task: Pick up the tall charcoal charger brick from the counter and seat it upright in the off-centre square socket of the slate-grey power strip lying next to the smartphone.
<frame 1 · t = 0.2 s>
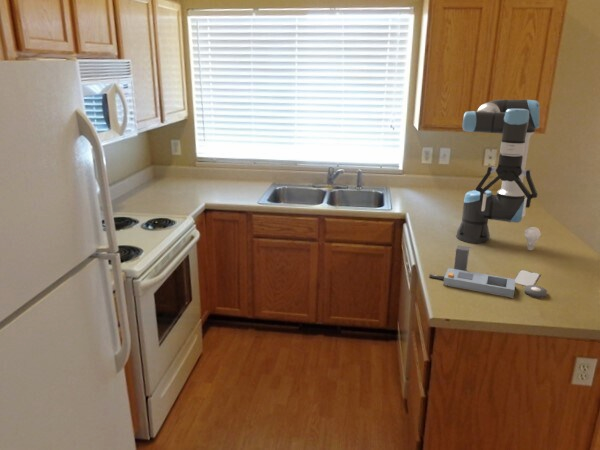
hand: (502, 213, 167), 27 cm above the worktop, fingers open, 13 cm apart
lightbulb: (529, 250, 207), on the worktop
charger brick: (460, 271, 185), on the worktop
grey disc with dome: (535, 293, 166), on the worktop
smartphone: (526, 279, 179), on the worktop
power strip: (478, 285, 172), on the worktop
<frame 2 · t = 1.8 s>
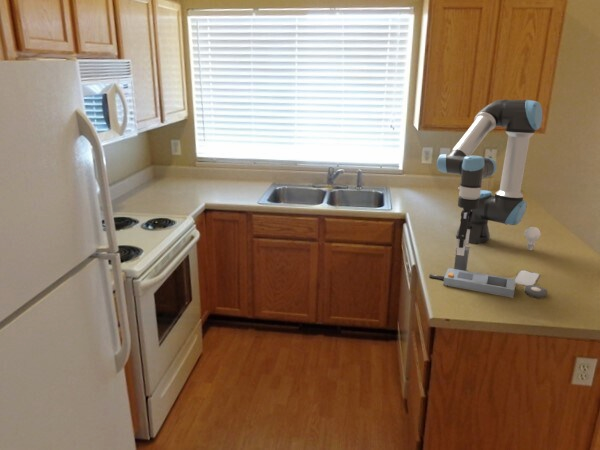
hand: (462, 249, 182), 9 cm above the worktop, fingers open, 13 cm apart
nothing on the worktop moved.
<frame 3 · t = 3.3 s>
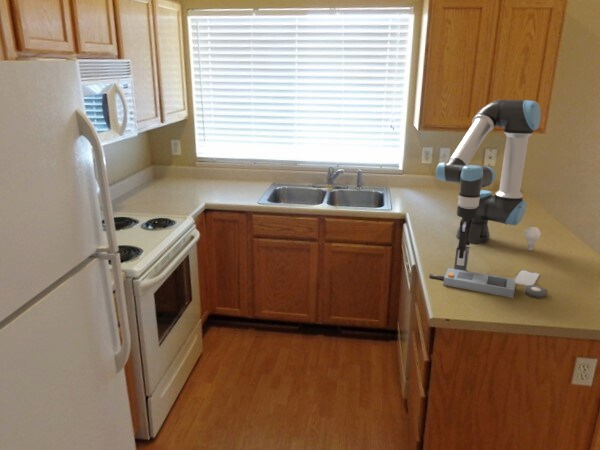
hand: (461, 262, 184), 4 cm above the worktop, fingers closed on charger brick, 4 cm apart
charger brick: (460, 271, 185), on the worktop, touching gripper
everything else where it was.
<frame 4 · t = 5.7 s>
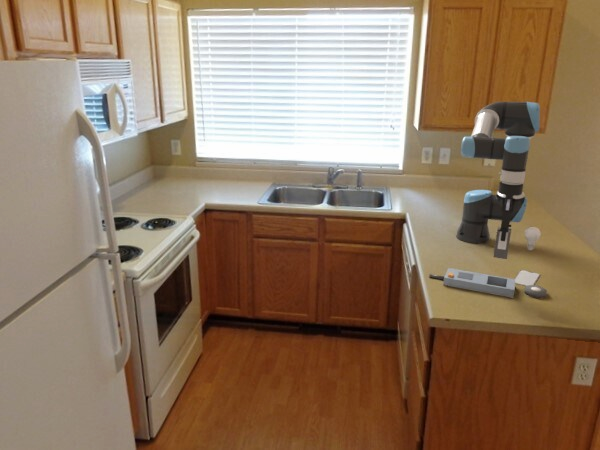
hand: (502, 246, 165), 17 cm above the worktop, fingers closed on charger brick, 4 cm apart
charger brick: (500, 256, 166), point 13 cm above the worktop, touching gripper
everything else where it was.
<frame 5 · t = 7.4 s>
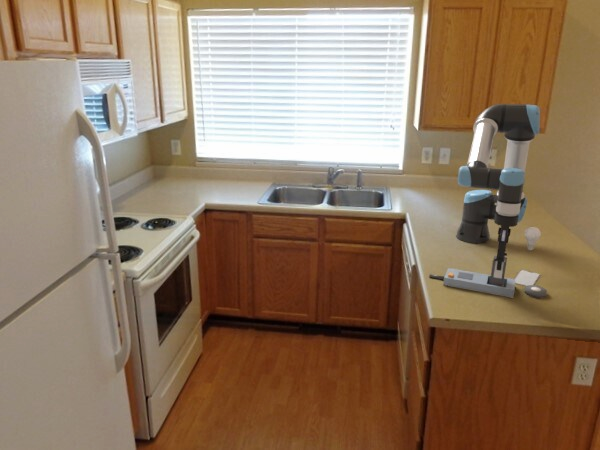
hand: (497, 274, 168), 6 cm above the worktop, fingers closed on charger brick, 4 cm apart
charger brick: (496, 284, 169), point 2 cm above the worktop, touching gripper
everything else where it was.
when the fingers open (4 cm above the worktop, at t = 8.4 s): charger brick stays where it is, resting in power strip.
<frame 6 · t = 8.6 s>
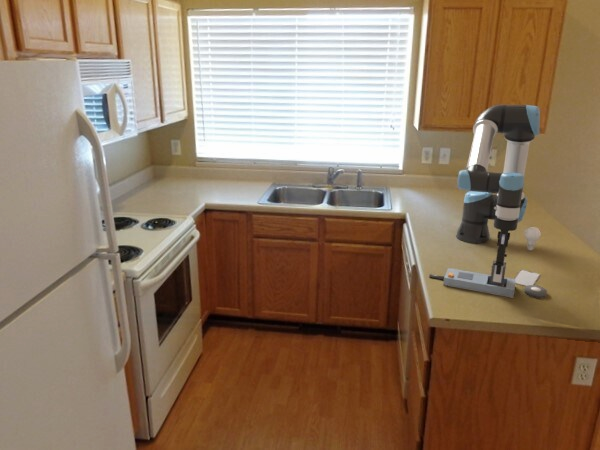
hand: (497, 277, 168), 5 cm above the worktop, fingers open, 7 cm apart
charger brick: (495, 288, 170), resting in power strip
everything else where it was.
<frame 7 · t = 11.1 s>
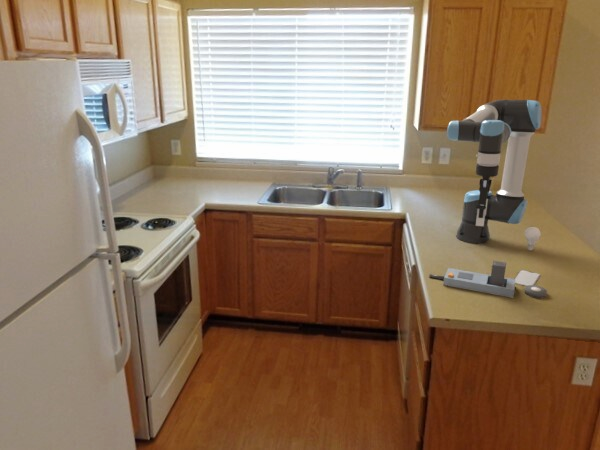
hand: (480, 220, 173), 23 cm above the worktop, fingers open, 13 cm apart
nothing on the worktop moved.
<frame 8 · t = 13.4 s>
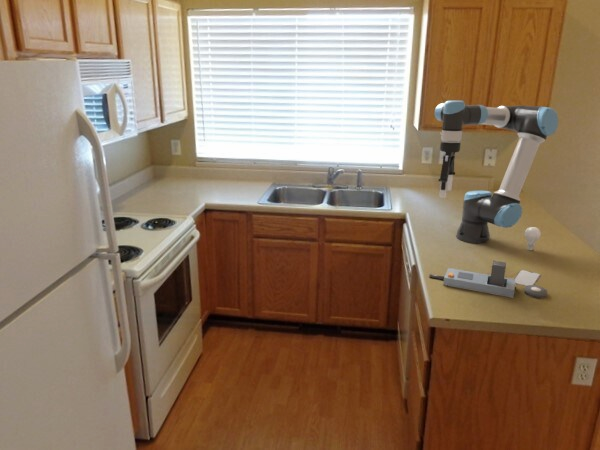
hand: (445, 193, 188), 29 cm above the worktop, fingers open, 13 cm apart
nothing on the worktop moved.
at the end: charger brick 0.1 cm from the target spot on the power strip, point 0.0 cm above the power strip's base; charger brick tilted 0°; the gripper is holding nothing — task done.
